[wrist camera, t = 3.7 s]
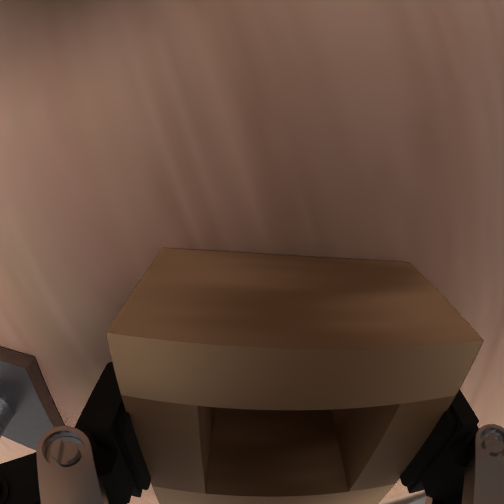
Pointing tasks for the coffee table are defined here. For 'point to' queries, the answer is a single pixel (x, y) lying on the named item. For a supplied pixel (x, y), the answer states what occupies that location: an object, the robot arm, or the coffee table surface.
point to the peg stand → (24, 400)
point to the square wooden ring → (284, 374)
